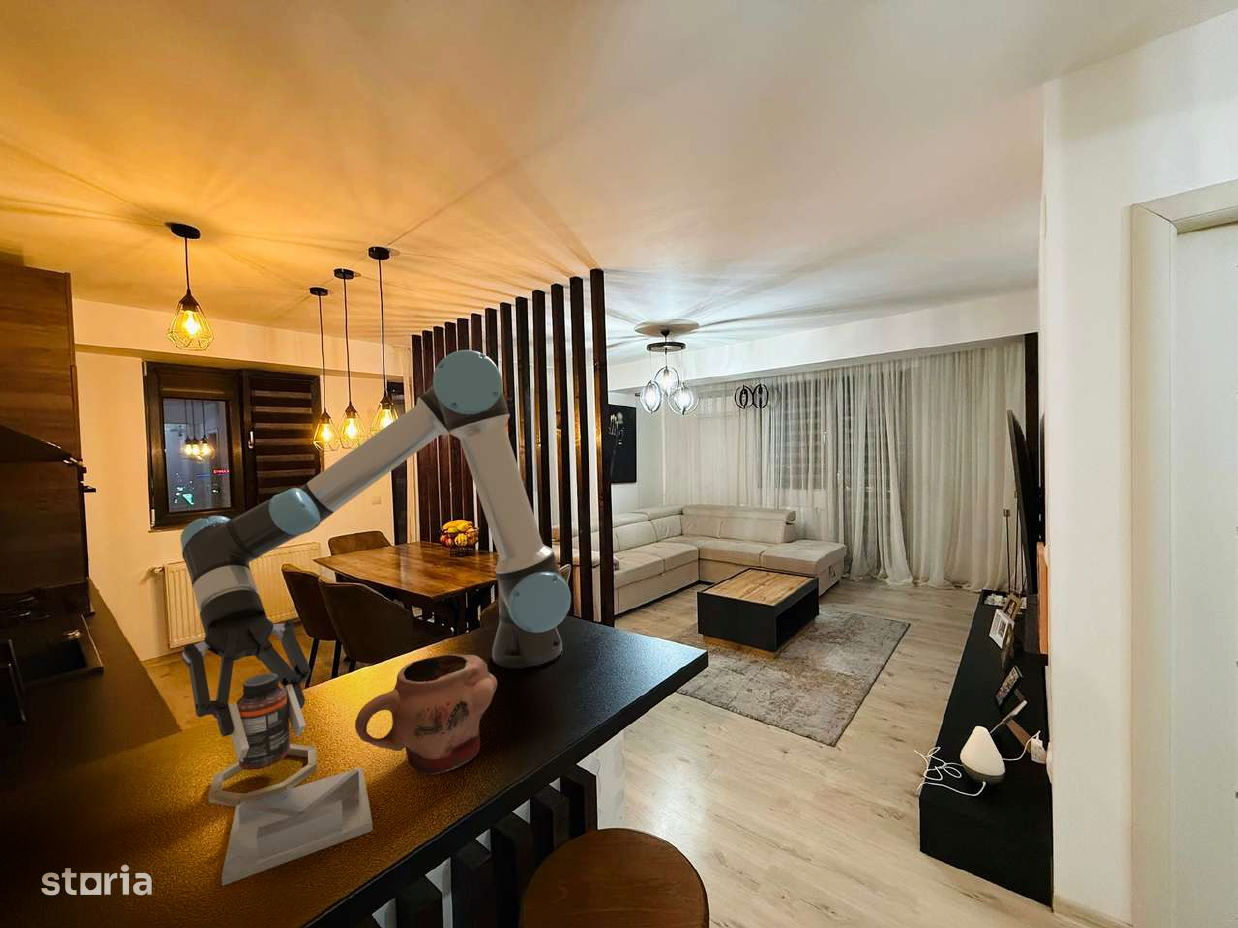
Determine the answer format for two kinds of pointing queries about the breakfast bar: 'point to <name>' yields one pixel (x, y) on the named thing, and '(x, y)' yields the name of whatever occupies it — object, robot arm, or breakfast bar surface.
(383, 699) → the sculpted ceramic mug
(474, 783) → the breakfast bar surface
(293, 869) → the breakfast bar surface
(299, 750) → the wooden collar
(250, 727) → the supplement bottle
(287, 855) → the v-block
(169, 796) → the breakfast bar surface
